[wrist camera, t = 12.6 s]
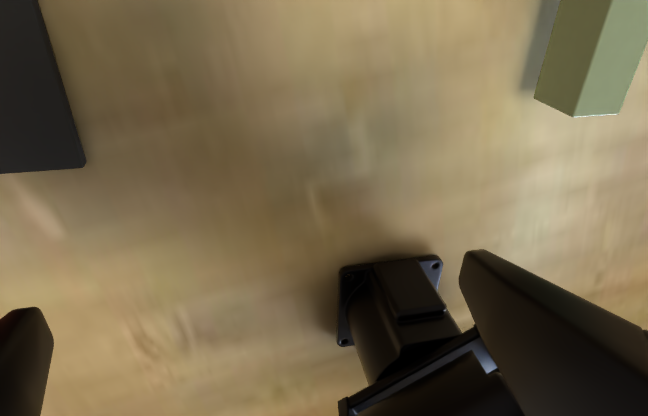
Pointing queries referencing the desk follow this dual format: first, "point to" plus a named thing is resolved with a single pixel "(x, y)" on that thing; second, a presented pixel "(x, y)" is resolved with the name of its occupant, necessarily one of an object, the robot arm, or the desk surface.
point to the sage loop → (593, 56)
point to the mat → (32, 97)
